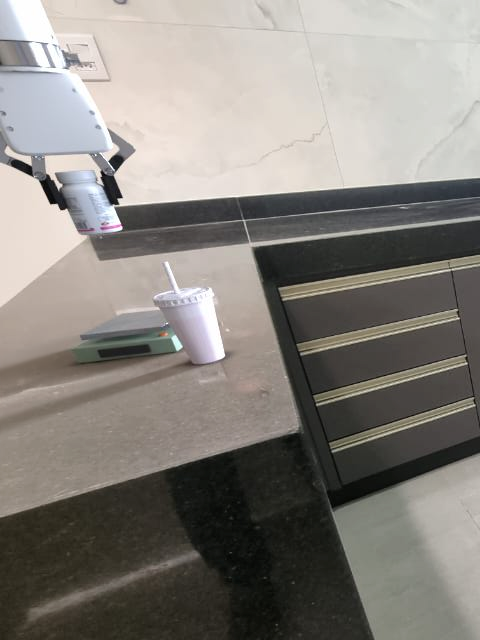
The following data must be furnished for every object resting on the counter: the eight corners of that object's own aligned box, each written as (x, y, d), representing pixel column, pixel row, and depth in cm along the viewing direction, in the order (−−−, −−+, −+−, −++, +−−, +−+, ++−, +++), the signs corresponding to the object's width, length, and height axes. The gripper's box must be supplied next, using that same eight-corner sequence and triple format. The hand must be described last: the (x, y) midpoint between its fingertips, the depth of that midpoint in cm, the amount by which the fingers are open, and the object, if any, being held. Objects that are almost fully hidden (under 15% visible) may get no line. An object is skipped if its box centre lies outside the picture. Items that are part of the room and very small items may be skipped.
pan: (81, 340, 75) (79, 335, 74) (123, 318, 83) (121, 313, 83) (164, 331, 77) (162, 326, 77) (196, 310, 86) (194, 306, 85)
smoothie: (169, 365, 73) (124, 265, 67) (216, 348, 78) (178, 254, 72) (201, 370, 71) (158, 268, 65) (247, 352, 76) (211, 256, 71)
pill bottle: (123, 228, 80) (98, 169, 76) (123, 231, 77) (96, 170, 73) (80, 232, 77) (52, 171, 74) (77, 236, 74) (48, 173, 70)
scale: (76, 364, 74) (68, 348, 73) (127, 334, 85) (121, 320, 84) (176, 352, 77) (169, 336, 76) (213, 325, 88) (207, 311, 87)
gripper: (111, 67, 76) (162, 198, 83) (-75, 61, 65) (3, 213, 72) (116, 62, 71) (169, 201, 78) (-84, 54, 60) (1, 217, 67)
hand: (89, 205), depth 75 cm, fingers closed on pill bottle, 4 cm apart
